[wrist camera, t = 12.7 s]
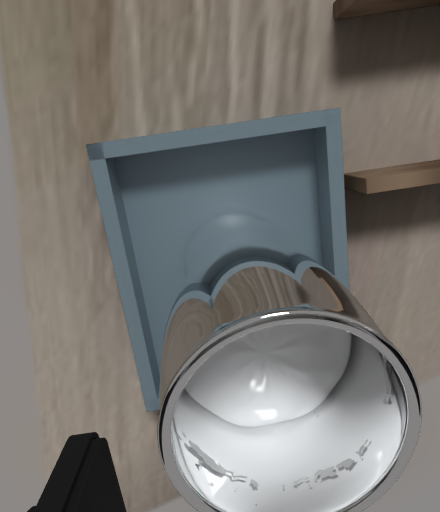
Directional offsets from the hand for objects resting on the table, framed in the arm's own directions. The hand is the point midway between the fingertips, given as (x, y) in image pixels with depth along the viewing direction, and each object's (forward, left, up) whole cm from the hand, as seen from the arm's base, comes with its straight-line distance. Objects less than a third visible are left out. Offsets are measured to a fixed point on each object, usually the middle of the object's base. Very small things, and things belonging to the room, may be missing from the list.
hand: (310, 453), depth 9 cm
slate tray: (+1, 0, -16) cm, 16 cm away
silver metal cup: (0, 0, -16) cm, 16 cm away
